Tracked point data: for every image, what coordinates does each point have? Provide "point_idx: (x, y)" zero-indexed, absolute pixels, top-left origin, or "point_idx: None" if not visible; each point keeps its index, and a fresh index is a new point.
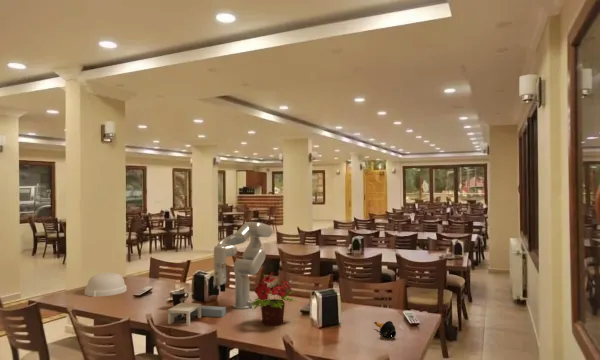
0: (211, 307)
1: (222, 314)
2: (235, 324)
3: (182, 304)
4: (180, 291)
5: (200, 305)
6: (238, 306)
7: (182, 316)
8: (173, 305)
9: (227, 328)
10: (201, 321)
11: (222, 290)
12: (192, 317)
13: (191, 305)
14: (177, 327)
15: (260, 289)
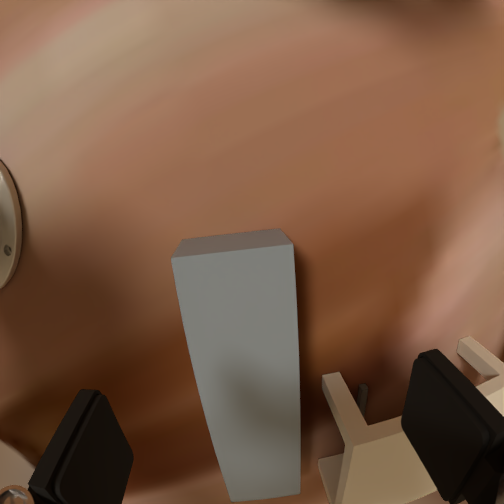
0: (239, 383)
1: (267, 234)
2: (405, 45)
3: (379, 502)
4: None
5: (362, 435)
6: (1, 228)
7: (329, 457)
8: None
9: (476, 80)
10: (406, 319)
11: (114, 440)
12: (365, 403)
13: (403, 461)
14: None
15: None
